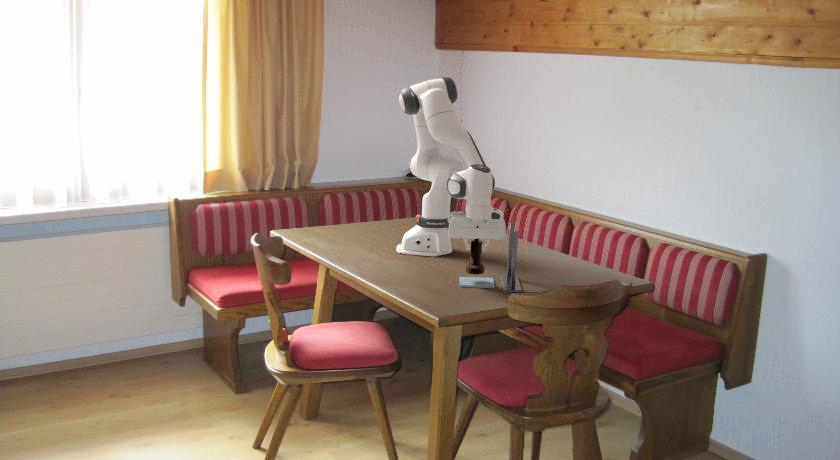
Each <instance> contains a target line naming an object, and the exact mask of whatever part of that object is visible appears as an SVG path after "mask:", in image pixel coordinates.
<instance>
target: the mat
mask: <svg viewBox="0 0 840 460" xmlns="http://www.w3.org/2000/svg"><path fill="white" fill-rule="evenodd" d="M458 280H459V288H477V289H478V288H483V289H495V286H496V285H495V281H494V278H493V277H478V276H477V277H475V276H459V278H458Z"/></svg>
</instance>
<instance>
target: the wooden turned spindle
mask: <svg viewBox="0 0 840 460" xmlns="http://www.w3.org/2000/svg"><path fill="white" fill-rule="evenodd" d="M477 228H479V226H477ZM470 245H471V251H470V255H469V256H470V257H469V258H470V259H469V263H467V264H466V266H465V273H466V274H469V275H482V274H485V271H486V270H485V267H486V266H485V265H484V264H483V263H482V253H483V252H482V246H483V241H482V240H480V239H471V241H470Z"/></svg>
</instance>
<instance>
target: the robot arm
mask: <svg viewBox="0 0 840 460" xmlns="http://www.w3.org/2000/svg"><path fill="white" fill-rule="evenodd" d="M458 92H459V91H458V88H457V84H456V82H455V81H454V79H453V78H452V77H449V76H444V77H443V76H441V77H440V78H434V79H428V80H425V81H422V82H419V83H416V84H413V85H410V86H409V85H408V86H405V87H404V88H402V89H400V91H399V96H398V102H399V103H398V104H399V106H400V108H401V109H402V111H403V112H404V113H405V114H406V115H409V116H411V115H413V122H414V123H413V124H414V129H415V134H416V141H417V148H416V153H415V154H414V156H412V158H411V160H410V163H409V169H410V171H411V174H412V175H413V176H414V177H416V178H418V179H421V180H424V181H428V182H431V186H430V190H429V191H428V192H426V193H425V194H424V195H423V196H422V202H421V207H422V208H421V215H420V214H417V215H415V220H416V224H415V226H413V227H412V228H410V229H409V230H407V231H406V232H405V233H404V234H403V237H402V240H401V243H398V244H397V246H396V247H395V250H396V251H395V252H396V253H398V254H400V253H401V255H402V254H403V255H412V256H423V257H424V256H425V257H439V256H442V255H443V256H444V255H448V254H451V253H452V252H453V249H452V244H451V243H452V242H451V239H463V242H464V245H465V246H466V252H471V244H469V243H468V242H469V241H468V240H469V239H471V240H474V239H479V240H484V241H485V244H483V245H482V253H483V252H484V253H486V252H487V248H488V246H489V244H490V242H491V240H492V241H494V240H496V241H505V240H506V238H507V226H506V222H505V219H504V216H505V215H504V211H502V210H501V209H497V208H495V207H492V193H493V192H494V190H495V187H496V181H495V180H496V179H495V177H494V174H493V173H492V170H491V168H490V167H488V166H487V164H486V163H485V160H484V159H483V156H482V155H481V152H480V151H479V150H480V149H479V148H478V146H477V144H476V141H474V138H473V137H472V135H471V133H470V132H469V131H468V130H467V129H466V128H465V127H464V126H463V125H462V123H461V122H460V120H459V119H458V116H457V114H456V111H455V108H454V105H453V104H454V103H456V101H457V100H458V94H459V93H458ZM443 144H444V145H447V146H450V147H452V148H454V149H456V150H458V151H459V152H460V153H461V154H462V156H463V158H464V160H465V162H466V164H467V168H466V167H465V165H464V163H463V161H461V160H459V159H458V158H455V157H453V156H448V155H443V154H441V152H440V147H441V145H443ZM452 198H453V199H458V200H465V211H464V210H463V211H456V210H453V211H451V200H452ZM477 226H479V228H477Z"/></svg>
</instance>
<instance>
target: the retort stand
mask: <svg viewBox="0 0 840 460" xmlns="http://www.w3.org/2000/svg"><path fill="white" fill-rule="evenodd" d="M508 233H509V234H508V249H507V250H508V251H507V265H506V266H507V267H506V268H507V269H506V274H501V273H500V276H499V277H500V278H499V279H500V281H501V285H502V289H503V292H504V293H507V292H508V293H511V294H513V293H512V292H522V293H523V289H522V287H521V283H520V280H519V277H518V275H517V262H518V261H517V259H518V243H519V231H517V230H515V221H509V231H508ZM508 293H507V294H508Z"/></svg>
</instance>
